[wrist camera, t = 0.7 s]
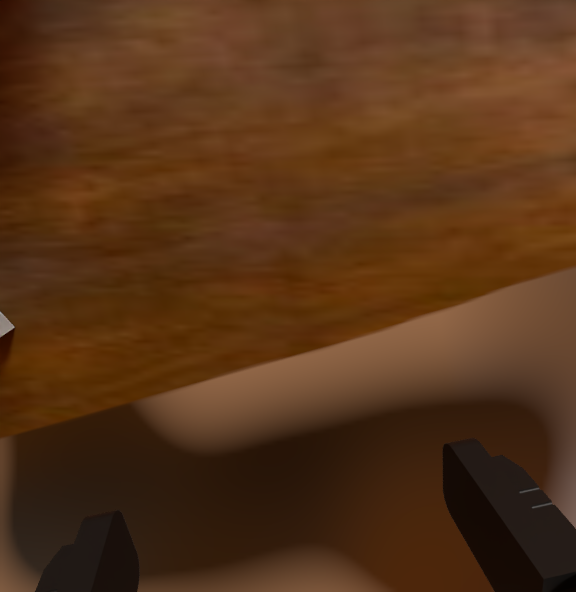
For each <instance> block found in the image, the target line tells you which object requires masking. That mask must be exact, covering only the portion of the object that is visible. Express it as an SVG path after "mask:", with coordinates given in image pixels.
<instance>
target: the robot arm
mask: <svg viewBox="0 0 576 592" xmlns="http://www.w3.org/2000/svg"><path fill="white" fill-rule="evenodd" d="M443 493H444V498H445V502H446V505H447V508H448V510H449V513H450V515H451V517H452V518H453V520H454V522H455V524H456V525H457V527H458V529H459V531H460V532H461V534H462V536H463V538H464V539H465V541H466V543H467V544H468V546H469V548H470V550H471V551H472V553H473V555H474V557H475V558H476V560H477V562H478V563H479V565H480V567H481V569H482V570H483V572H484V574H485V576H486V577H487V579H488V581H489V582H490V584H491V586H492V588H493V590H494V591H495V592H576V529H575V528H574V526H573V525H572V524H571V523H570V522H569V521H568V519H567V518H566V517H565V516H564V515H563V514H562V513H561V511H560V510H559V509H558V508H557V507H556V506H555V505H553V504H552V502H551V500H550V499H549V498H548V496H547V495H546V494H545V493H544V492H543V491H542V490H540V489H539V486H538V485H537V484H536V483H535V481H534V480H533V479H532V478H531V477H530V476H529V475H528V473H527V472H526V471H525V470H524V469H523V468H522V467H520V466H519V465H517V464H515V463H514V462H512V461H511V460H509V459H507V458H506V457H504V456H503V455H500V456H495V457H491V456H490V455H489V454H488V452H487V451H486V450H485V448H484V447H483V446H482V445H481V443H480V442H479V441H478V440H476V439H475V438H470V439H465V440H461V441H456V442H451V443H446V444H444V446H443ZM138 584H139V559H138V554H137V551H136V549H135V546H134V544H133V541H132V538H131V535H130V533H129V530H128V527H127V525H126V522H125V519H124V517H123V514H122V513H121V512H120V511H119V510H117V511H111V512H106V513H102V514H97V515H92V516H87V517H85V518H84V520H83V521H82V524H81V526H80V529H79V531H78V534H77V537H76V540H75V543H74V544H71V545H66V546H62V547H61V549H60V550H59V551H58V552H57V554H56V555H55V556H54V557H53V559H52V560H51V561H50V563H49V564H48V565H47V567H46V568H45V569H44V571H43V574H42V576H41V579H40V581H39V583H38V586H37V588H36V591H35V592H137V589H138Z"/></svg>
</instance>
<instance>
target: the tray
mask: <svg viewBox="0 0 576 592" xmlns="http://www.w3.org/2000/svg"><path fill="white" fill-rule="evenodd" d="M13 328H15V327H14V326H13V325H12V324H11V323H10V321H9V320H8V319H7V318H6V317H5V316H4V315H3V314H2V313H1V312H0V337H2V336H3V335H5V334H6V333H8V332H9V331H10V330H12V329H13Z"/></svg>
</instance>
